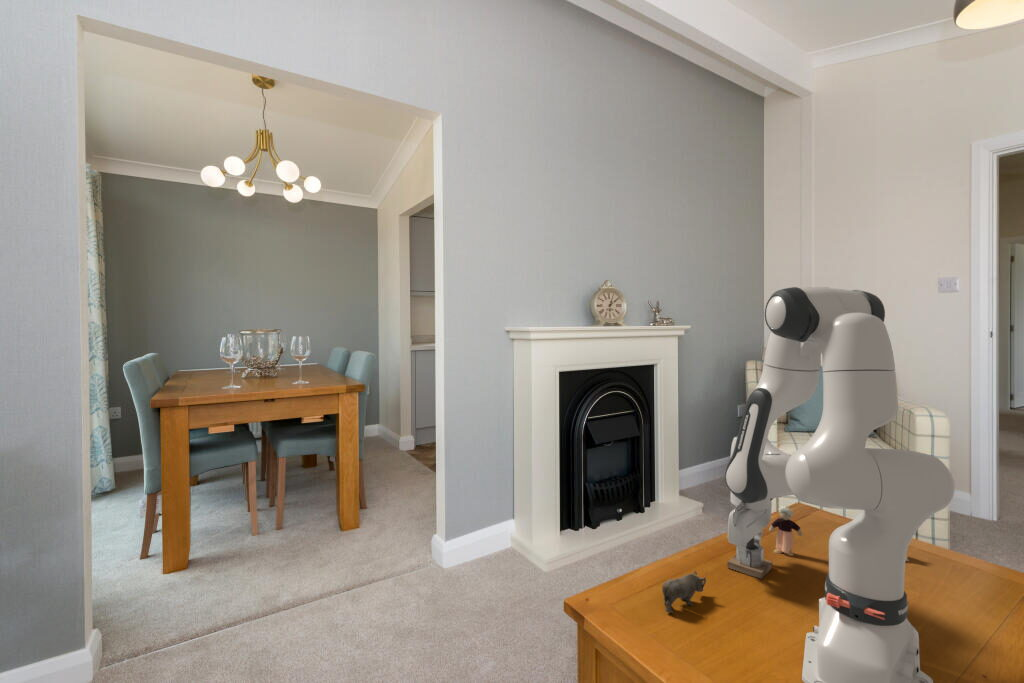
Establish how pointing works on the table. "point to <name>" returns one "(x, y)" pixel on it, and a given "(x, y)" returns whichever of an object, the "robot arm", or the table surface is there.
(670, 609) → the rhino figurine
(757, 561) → the steel ring
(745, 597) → the table surface
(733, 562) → the post block
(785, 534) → the grandmother figurine
